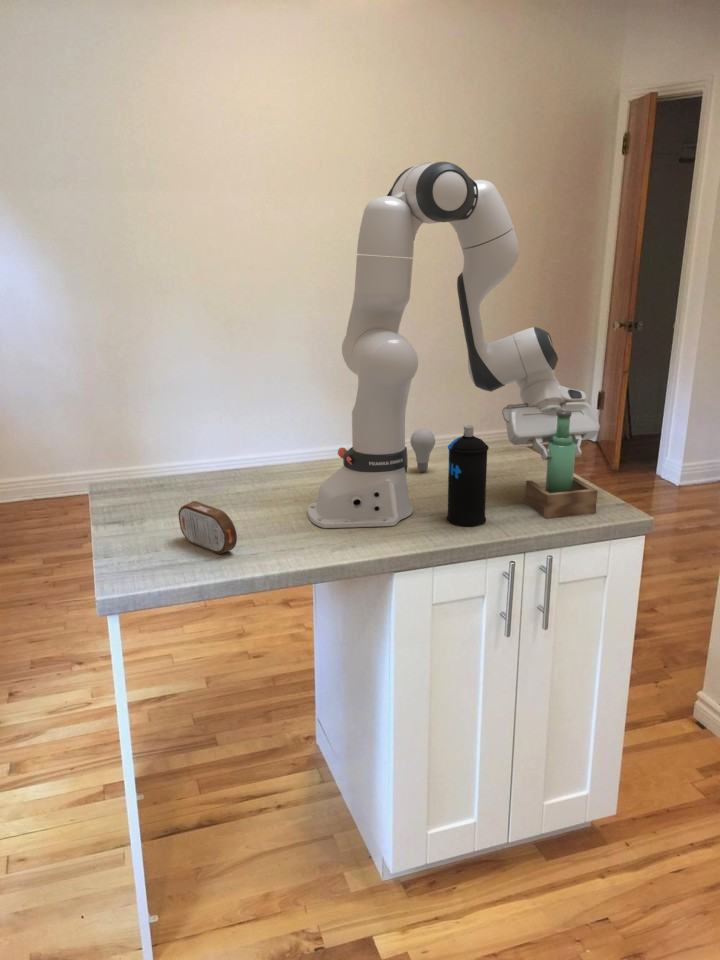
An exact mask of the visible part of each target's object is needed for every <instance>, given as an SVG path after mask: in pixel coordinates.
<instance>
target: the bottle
mask: <svg viewBox="0 0 720 960" xmlns="http://www.w3.org/2000/svg"><path fill="white" fill-rule="evenodd" d="M571 413H572V412H571V411H565V410H560V411H557V415H556V416H557V430H556V435H553V439H552V441H550V442H547V443H548V444H547V449H550V453H551V454H552V457H551V458H550V459H549V460H546V461H547V463H546V475H545V476H546V479H545V490H546V491H548V492H549V493H557V492H567V491H572V489H573V476H574V472H575V460H576V459H575V458H576V457H575V447H576V444H575V443H574V442H572V436H570V435H569V427H570V417H571Z"/></svg>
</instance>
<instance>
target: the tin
mask: <svg viewBox="0 0 720 960" xmlns="http://www.w3.org/2000/svg"><path fill="white" fill-rule="evenodd" d="M178 522H179V527H180V528H179V529H180V530H181V533H182V534H183V536H184V537H185V539H186V540H187V542H189V543H191V544H192V543H193V545H194V544H195V545H194V546H198V547H199V546H200V548H202V547H203V548H202V549H204V548H205V550H206V551H210V552H211V551H212V553H214V554H217V555H220V554H224V553H226V552H228V551H232V550H233V549H235V547H236V545H237V542H238V541H237V540H238V535H237V530H236V528H235V527H236V526H235V524H234V522H233V520H232V518H231V517H230V516H229V515H228V514H227V513H226V512H225V511H223V510H222V509H220V508H216V507H214V506H211V505H208V504H205V503H202V502H200V501H198V500H194V501H191V502H189V503H187V504H184V505H183V506H181V507H180V509H179V511H178Z"/></svg>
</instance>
